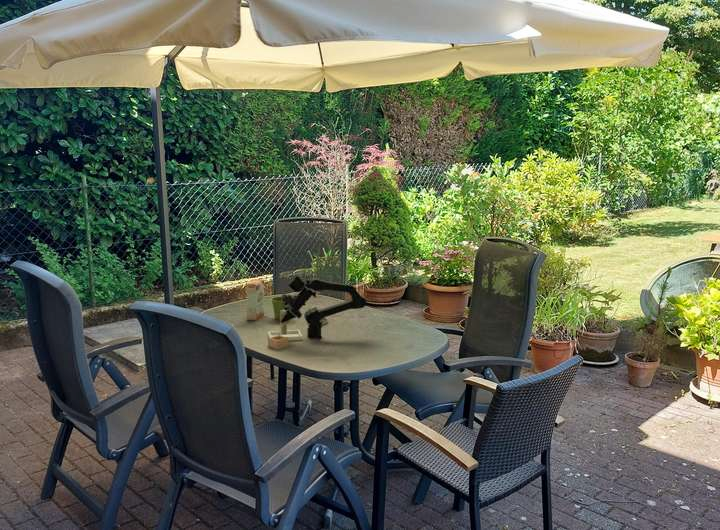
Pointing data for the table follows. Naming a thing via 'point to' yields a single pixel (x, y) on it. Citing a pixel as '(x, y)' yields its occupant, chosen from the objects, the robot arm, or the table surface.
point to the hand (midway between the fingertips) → (280, 321)
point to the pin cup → (278, 342)
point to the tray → (288, 334)
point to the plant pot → (277, 306)
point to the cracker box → (255, 299)
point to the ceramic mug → (323, 320)
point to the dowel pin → (283, 325)
